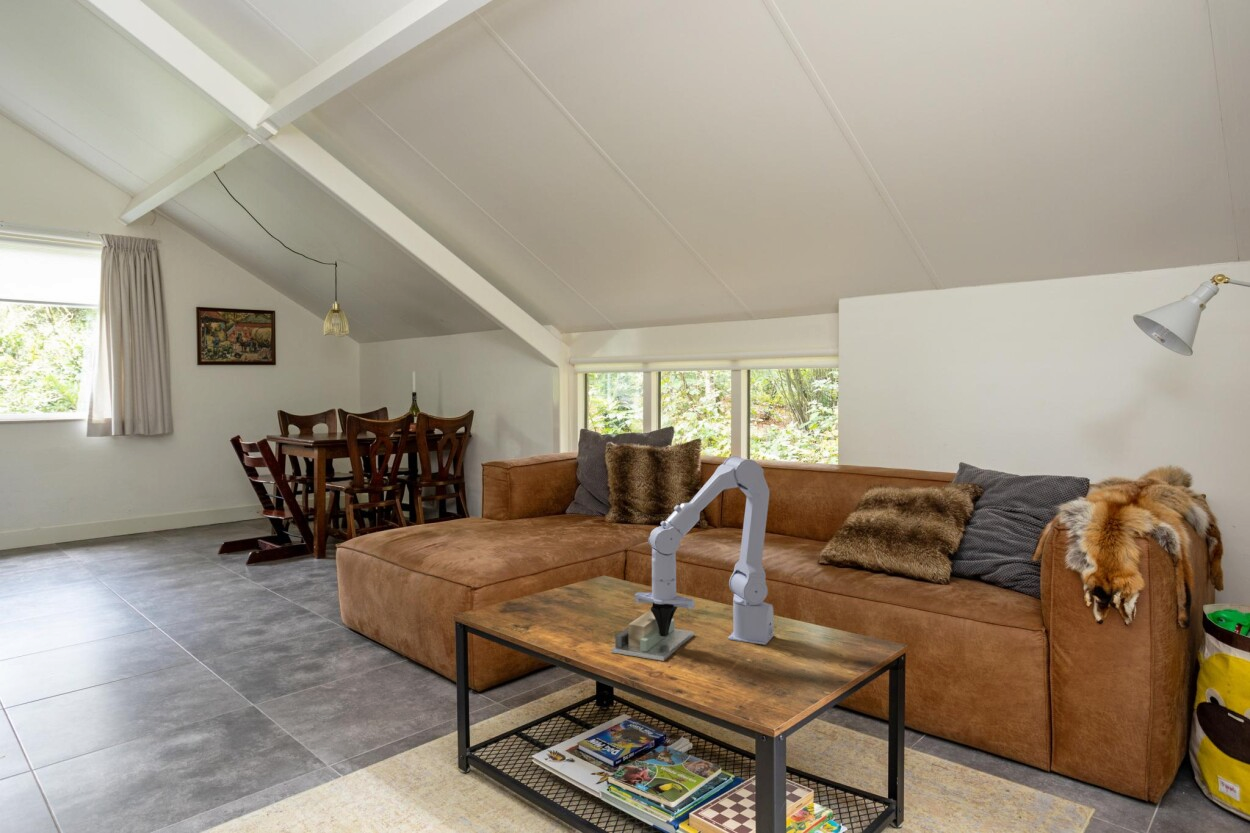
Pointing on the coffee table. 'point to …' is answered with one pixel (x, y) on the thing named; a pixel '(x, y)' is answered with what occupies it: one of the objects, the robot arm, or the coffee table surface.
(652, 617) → the wood bar
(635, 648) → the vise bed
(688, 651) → the coffee table surface
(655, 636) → the bar
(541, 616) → the coffee table surface
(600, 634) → the coffee table surface
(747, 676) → the coffee table surface
